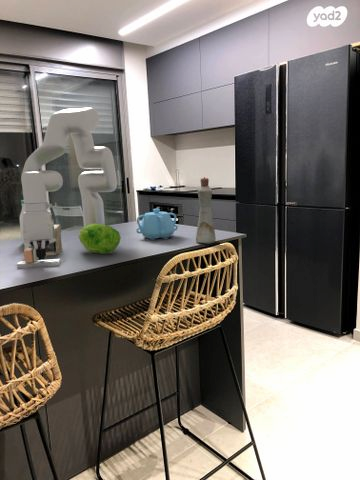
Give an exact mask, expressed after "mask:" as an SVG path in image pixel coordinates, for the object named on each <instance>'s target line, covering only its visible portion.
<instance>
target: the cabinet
mask: <svg viewBox="0 0 360 480" xmlns="http://www.w3.org/2000/svg"><path fill="white" fill-rule="evenodd" d="M54 230H55V239H56V241H55V242H53V243H49V244H48V245H47V246H46V247H45V249H46V256H55V255H56V254H57V255H60V253H61V252H62V250H63V244H62V233H61V224H54ZM38 242H39V246H40V247H41V245H42V240H38Z"/></svg>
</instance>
